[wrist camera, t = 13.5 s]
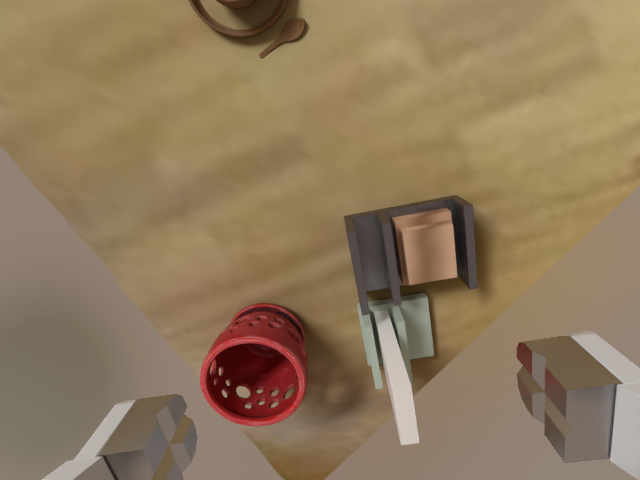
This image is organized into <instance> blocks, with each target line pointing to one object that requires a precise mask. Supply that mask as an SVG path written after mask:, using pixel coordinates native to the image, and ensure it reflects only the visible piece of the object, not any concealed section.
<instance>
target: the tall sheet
mask: <svg viewBox="0 0 640 480" xmlns="http://www.w3.org/2000/svg"><path fill="white" fill-rule="evenodd" d="M374 317H375V323H376V329H377V335H378V340H379V346H380V352H381V358H382V362H383V367H384V371H385V376H386V380H387V384H388V389H389V393H390V398H391V402H392V407H393V411H394V415H395V420H396V424H397V428H398V433H399V437H400V442H401V445H407V444H414V443H419V438H418V430H417V423H416V416H415V409H414V402H413V395H412V388H411V383H410V380H409V377H408V374H407V371H406V367H405V364H404V361H403V358H402V355H401V351H400V348H399V345H398V342H397V339H396V336H395V332H394V329H393V326H392V323H391V320H390V316H389V313H388V310H384V311H378V312H374Z"/></svg>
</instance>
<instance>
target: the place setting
mask: <svg viewBox="0 0 640 480" xmlns="http://www.w3.org/2000/svg"><path fill="white" fill-rule="evenodd" d="M216 1H218V2H219V3H221V4H222V5H225V6H227V7H230V8H243V7H246V6H248V5H250V4H252V3H253V2H254V1H255V0H216ZM287 1H288V0H280V3H279V5H278V7H277V9H276V10H275V12H274V13H273V15H272V16H271V17H270V18H269V19H268V20H267V21H266V22H264V23H263V24H261V25H260V26H258V27H255V28H252V29H248V30H235V29H231V28H227V27H225V26H223V25H221V24H219V23H218V22H216V21H215V20H214V19H213V18H212V17H211V16H210V15H209V14H208V13H207V12H206V11H205V9H204V8H203V6H202V5H201V3H200V1H199V0H189V2H190V4H191V6H192V7H193V9H194V10H195V12H196V13H197V14H198V16H199V17H200V18H201V19H202V20H203V21H204V22H205V23H206V24H208V25H209V26H210V27H212V28H213V29H215V30H216V31H218V32H220V33H223V34H225V35H229V36H233V37H249V36H253V35H256V34H259V33H261V32H263V31H265V30H266V29H268V28H269V27H270V26H271V25H272V24H273V23H275V21H276V20H277V19H278V18H279V16H280V15H281V13H282V12H283V10H284V8H285V6H286V4H287ZM305 25H306V22H305V20H304V19H302V18H298V19H293V20H291V21H289V22H288V23H287V24H286V25H285V27H284V29H283V31H282V34H281V36H280V37H279V39H278V40H277V41H275V42H274V43H273V44H272V45H270V46H269V47H268V48H267V49H265V50H264V51H263V52H261V53H260V54H259V56H260V58H261V59H262V58H264V57H265V56H266V55H267V54H268V53H270V52H271V51H272V50H273V49H274V48H275V47H277V46H278V45H279V44H281V43H283V42H289V41H293V40H295V39H297V38H298V37H299V36H300V35H301V34H302V32H303V30H304V28H305Z"/></svg>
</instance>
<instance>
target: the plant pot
mask: <svg viewBox="0 0 640 480" xmlns="http://www.w3.org/2000/svg"><path fill="white" fill-rule="evenodd" d="M211 365H212V371H211V374H210V368H211ZM219 367H220V368H221V376H220V375H219V372H218V371H219ZM307 374H308V368H307V354H306V349H305V333H304V330H303V327H302V325H301V323H300V321H299V320H298V319H297V317H296V316H295V315H294V314H292V313H291V312H290V311H289V310H287V309H285V308H283V307H281V306H279V305H275V304H270V303H258V304H254V305H250V306H248V307H246V308H244V309H242V310H241V311H239V312H238V313H237V314H236V315H235V316H234V318H233V319H232V321H231V323H230V325H229V326H228V327H227V328H226V329H225V330H224V331H223V332H222V333H221V334H220V335H219V337H218V338H217V339H216V341H215V342H214V344H213V345H212V347H211V349H210V350H209V352H208V354H207V356H206V358H205V360H204V363H203V365H202V368H201V373H200V384H201V388H202V392H203V395H204V397H205V399H206V400H207V402H208V403H209V404H210V406H211V407H212V408H213V409H214V410H215V411H216V412H217V413H218V414H220V415H221V416H223V417H224V418H226V419H228V420H230V421H232V422H235V423H238V424H242V425H247V426H266V425H271V424H275V423H277V422H280V421H282V420H284V419H286V418H287V417H289V416H290V415H291V414H292V413H293V412H295V410H296V409H297V408H298V407H299V405H300V404H301V402H302V400H303V398H304V395H305V392H306V387H307ZM214 380H215V384H214ZM226 380H228V381H229V383H230V386H227V385H226ZM238 386H244V387H246V388H247V389H248V390H249V391H250V397H248V398H241V397H239V396H238V395H237V392H236V388H237V387H238ZM294 386H295V389H294V392H293V394H292V396H291V397H290V398H288V399H285V395H286V393H287V391H288V390H289V389H290V388H292V387H294ZM258 389H261V390H263V392H262V393H260V394H258V393H257V392H256V391H257V390H258ZM277 389H278V390H279V393H278V394H277V395H276V396H271V394H272V392H273V391H275V390H277ZM222 390H224V391H225V392H226V393H227V398H225V397H224V396H223V395H222ZM261 401H264V402H265V403H264V404H263V405H259V404H258V403H259V402H261ZM274 402H279V404H278V405H277V406H276V407H274V408H271V405H272V404H273V403H274ZM246 404H249V405H251V406H252V407H251V408H250V409H247V408H245V405H246Z"/></svg>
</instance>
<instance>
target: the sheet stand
mask: <svg viewBox="0 0 640 480" xmlns="http://www.w3.org/2000/svg"><path fill="white" fill-rule="evenodd" d="M401 301H402V305H397V306H394V304H393V301H392V298H388V299H382V300H376V301H370V302H368V306H369V311H370V314H368V315H362V312H361V307H360V303H358V304H357V309H358V314H359V320H360V325H361V330H362V335H363V341H364V346H365V351H366V357H367V362H368V366H370V365H371V366H372V372H373V377H374V382H375V388H376V389H380V388H383V386H382V380H381V374H380V369H379V364H383V362H382V358H381V352H380V346H379V340H378V335H377V329H376V323H375V317H374V312H378V311H384V310H388V313H389V316H390V320H391V323H392V326H393V329H394V332H395V336H396V339H397V342H398V345H399V348H400V351H401V355H402V358H403V361H404V364H405V367H406V371H407V374H408V377H409V380H410V383H411V384H413V378H412V371H411V364H410V359H416V358H423V357H429V356H434V349H433V340H432V331H431V323H430V314H429V305H428V297H427V295H426V294H425V292H424V293H418V294H412V295H406V296H401Z"/></svg>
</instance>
